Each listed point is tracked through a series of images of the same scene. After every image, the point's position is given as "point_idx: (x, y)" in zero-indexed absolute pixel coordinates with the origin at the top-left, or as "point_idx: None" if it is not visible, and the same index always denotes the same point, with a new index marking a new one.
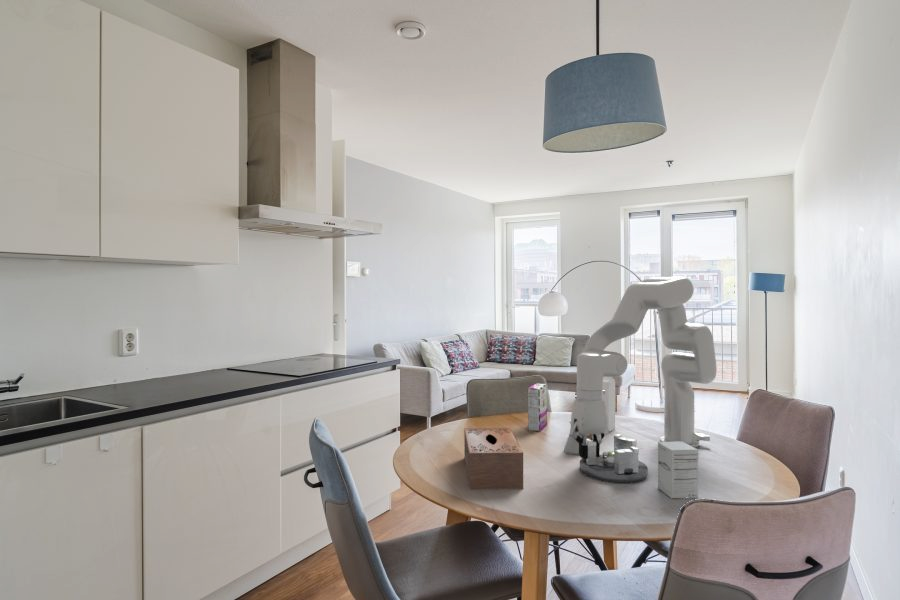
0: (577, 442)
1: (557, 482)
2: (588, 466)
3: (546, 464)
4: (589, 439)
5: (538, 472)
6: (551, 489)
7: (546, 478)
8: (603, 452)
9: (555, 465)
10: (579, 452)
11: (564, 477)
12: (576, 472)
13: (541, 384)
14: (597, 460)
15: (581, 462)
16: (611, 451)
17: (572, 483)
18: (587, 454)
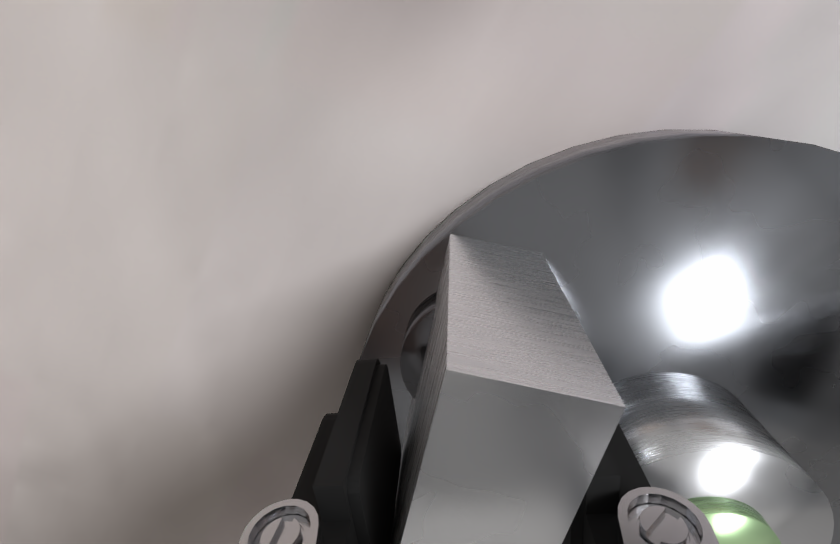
0: (258, 520)
1: (118, 446)
2: (404, 422)
3: (122, 56)
4: (582, 471)
5: (9, 242)
6: (57, 512)
7: (56, 369)
8: (655, 462)
9: (207, 117)
10: (322, 434)
11: (193, 392)
12: (327, 337)
13: None
14: (600, 317)
15: (398, 319)
16: (738, 527)
17: (211, 485)
18: (394, 491)
